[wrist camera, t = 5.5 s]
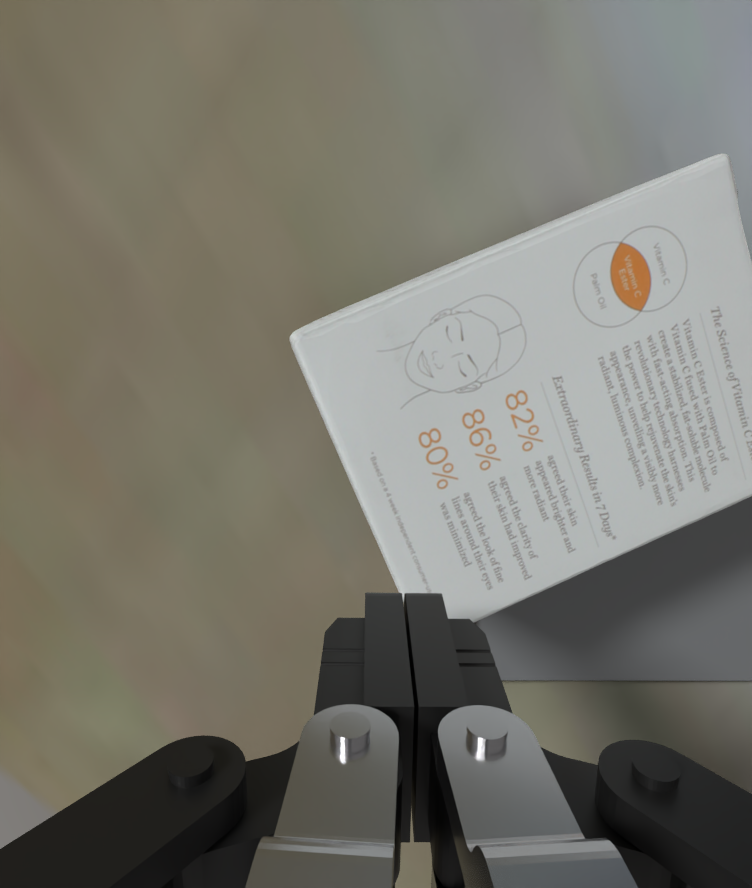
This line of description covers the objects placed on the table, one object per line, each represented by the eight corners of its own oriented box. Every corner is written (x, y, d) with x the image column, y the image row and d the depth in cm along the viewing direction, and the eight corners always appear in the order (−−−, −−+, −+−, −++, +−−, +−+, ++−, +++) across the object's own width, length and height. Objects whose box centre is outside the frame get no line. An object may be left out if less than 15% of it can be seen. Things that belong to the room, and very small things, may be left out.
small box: (385, 565, 20) (677, 437, 21) (421, 653, 15) (817, 476, 15) (284, 330, 18) (607, 197, 19) (284, 330, 13) (736, 144, 13)
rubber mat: (489, 279, 20) (492, 278, 19) (863, 282, 20) (878, 282, 19) (470, 670, 23) (473, 680, 23) (793, 670, 23) (803, 680, 23)
